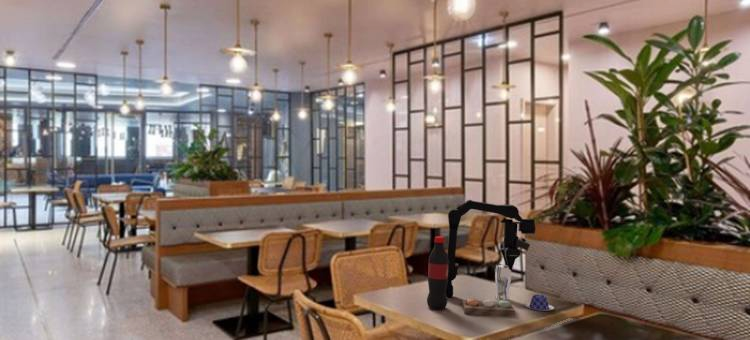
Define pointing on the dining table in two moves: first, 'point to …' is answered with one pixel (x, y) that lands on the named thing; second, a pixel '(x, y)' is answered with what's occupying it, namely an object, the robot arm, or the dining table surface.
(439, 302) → the cola bottle
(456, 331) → the dining table surface
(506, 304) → the green button
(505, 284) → the beer glass
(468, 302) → the brown rounded piece
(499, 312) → the button panel
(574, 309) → the dining table surface
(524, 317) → the dining table surface
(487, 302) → the cream button
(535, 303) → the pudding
